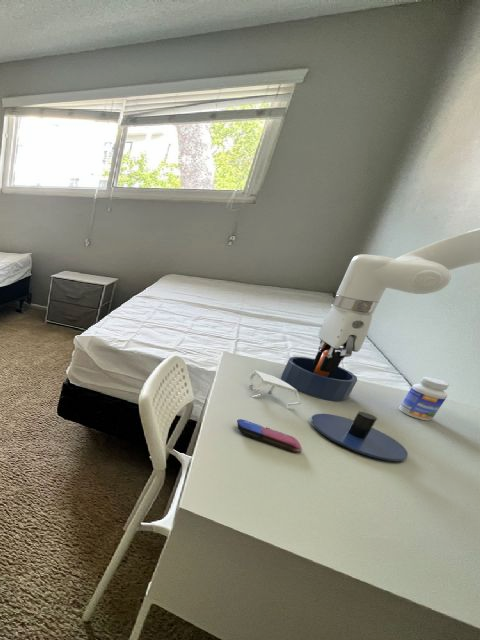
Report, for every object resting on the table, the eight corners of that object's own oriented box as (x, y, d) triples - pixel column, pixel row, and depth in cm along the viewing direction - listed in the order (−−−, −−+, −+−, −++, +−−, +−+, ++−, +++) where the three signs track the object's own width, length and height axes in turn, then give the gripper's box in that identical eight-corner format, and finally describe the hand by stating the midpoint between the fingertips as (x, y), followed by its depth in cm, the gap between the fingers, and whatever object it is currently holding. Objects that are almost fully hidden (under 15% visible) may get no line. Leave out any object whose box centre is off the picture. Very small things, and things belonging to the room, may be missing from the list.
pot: (330, 382, 100) (339, 363, 98) (358, 406, 88) (369, 386, 86) (273, 370, 105) (281, 352, 103) (292, 392, 93) (301, 373, 91)
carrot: (319, 382, 97) (336, 349, 93) (325, 387, 94) (341, 353, 91) (307, 380, 98) (322, 347, 94) (312, 385, 95) (328, 351, 91)
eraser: (298, 445, 73) (302, 438, 72) (302, 456, 69) (306, 449, 69) (233, 422, 78) (236, 416, 77) (234, 432, 75) (238, 425, 74)
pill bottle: (411, 418, 85) (433, 384, 81) (391, 406, 90) (411, 373, 86) (438, 423, 84) (462, 388, 80) (417, 410, 89) (438, 377, 85)
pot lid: (377, 428, 80) (390, 406, 78) (425, 473, 67) (443, 448, 65) (297, 410, 85) (308, 389, 83) (329, 448, 72) (342, 424, 70)
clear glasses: (236, 390, 92) (242, 374, 90) (248, 383, 96) (255, 367, 95) (293, 415, 83) (301, 398, 81) (304, 405, 87) (312, 389, 85)
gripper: (395, 316, 79) (359, 386, 86) (354, 298, 93) (325, 359, 100) (353, 311, 82) (320, 378, 88) (319, 294, 96) (293, 353, 103)
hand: (323, 367), depth 94 cm, fingers closed on carrot, 2 cm apart
